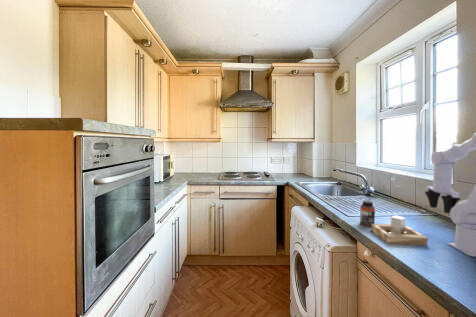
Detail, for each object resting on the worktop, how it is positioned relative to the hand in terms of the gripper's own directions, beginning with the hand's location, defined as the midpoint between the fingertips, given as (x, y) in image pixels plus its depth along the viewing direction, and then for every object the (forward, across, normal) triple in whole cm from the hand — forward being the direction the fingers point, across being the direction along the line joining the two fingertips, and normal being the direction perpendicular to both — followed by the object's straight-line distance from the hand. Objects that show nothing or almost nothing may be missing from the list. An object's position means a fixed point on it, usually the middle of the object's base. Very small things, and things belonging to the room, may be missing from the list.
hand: (440, 210), depth 94 cm
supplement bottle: (+10, +6, +27) cm, 29 cm away
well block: (+10, -8, +22) cm, 25 cm away
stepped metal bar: (+10, -7, +21) cm, 24 cm away
